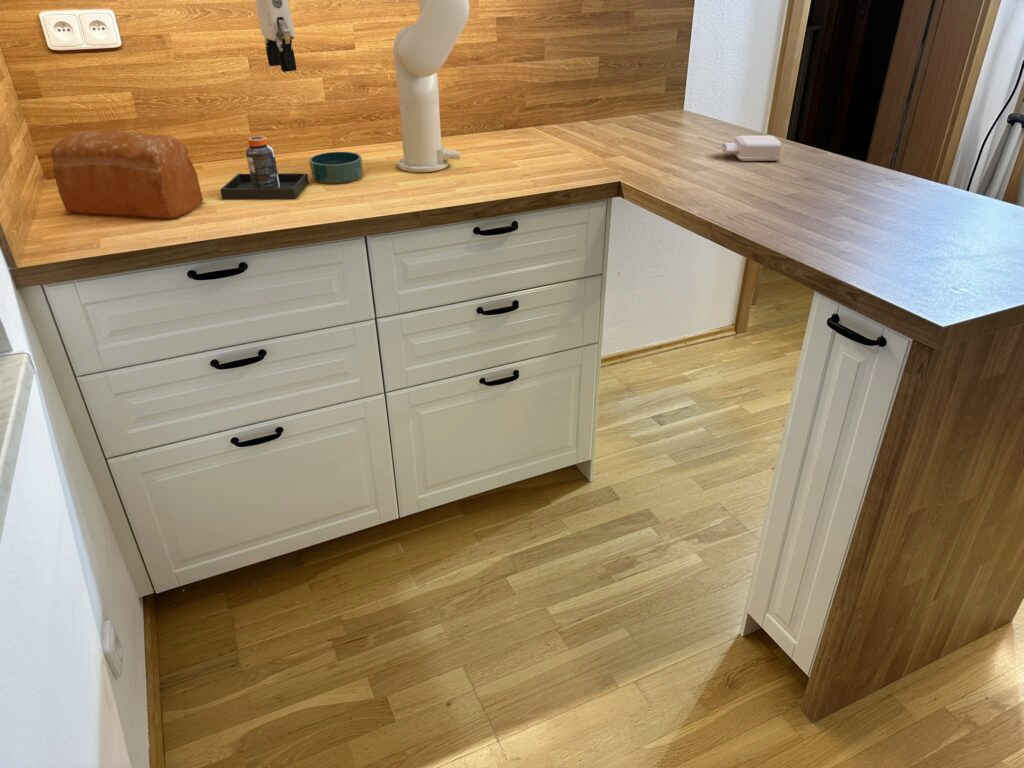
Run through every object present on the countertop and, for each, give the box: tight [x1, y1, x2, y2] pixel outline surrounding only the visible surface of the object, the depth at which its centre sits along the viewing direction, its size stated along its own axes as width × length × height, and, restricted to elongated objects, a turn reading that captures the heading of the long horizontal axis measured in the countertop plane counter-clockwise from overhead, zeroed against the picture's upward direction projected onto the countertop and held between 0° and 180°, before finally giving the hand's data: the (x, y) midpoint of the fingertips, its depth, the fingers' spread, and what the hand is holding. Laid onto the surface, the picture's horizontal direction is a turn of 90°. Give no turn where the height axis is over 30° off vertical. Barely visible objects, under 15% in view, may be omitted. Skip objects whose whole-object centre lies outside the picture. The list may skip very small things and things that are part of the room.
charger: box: [714, 135, 782, 162], centre depth 187 cm, size 5×9×15 cm
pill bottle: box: [245, 135, 280, 188], centre depth 163 cm, size 6×6×11 cm
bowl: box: [308, 151, 364, 185], centre depth 174 cm, size 12×12×4 cm
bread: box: [49, 130, 204, 219], centre depth 152 cm, size 14×26×16 cm, turn 80°
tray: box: [219, 172, 310, 200], centre depth 165 cm, size 16×12×2 cm
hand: (282, 68), depth 162 cm, fingers open, 9 cm apart
